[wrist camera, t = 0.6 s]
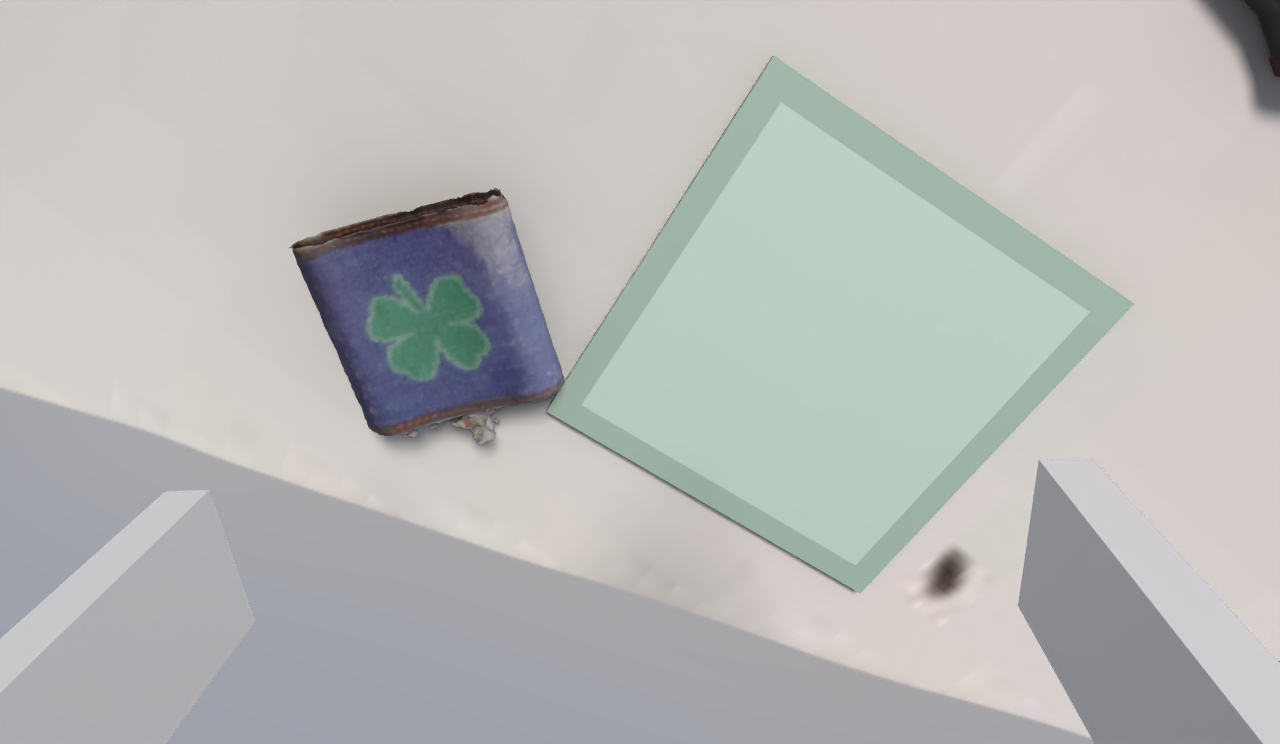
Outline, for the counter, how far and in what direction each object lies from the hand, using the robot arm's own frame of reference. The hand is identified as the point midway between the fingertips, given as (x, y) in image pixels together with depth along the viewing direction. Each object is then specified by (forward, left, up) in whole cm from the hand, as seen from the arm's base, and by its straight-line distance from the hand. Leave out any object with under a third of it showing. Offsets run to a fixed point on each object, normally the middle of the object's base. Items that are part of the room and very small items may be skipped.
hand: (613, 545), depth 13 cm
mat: (+9, -1, -23) cm, 24 cm away
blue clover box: (-10, -6, -24) cm, 26 cm away
